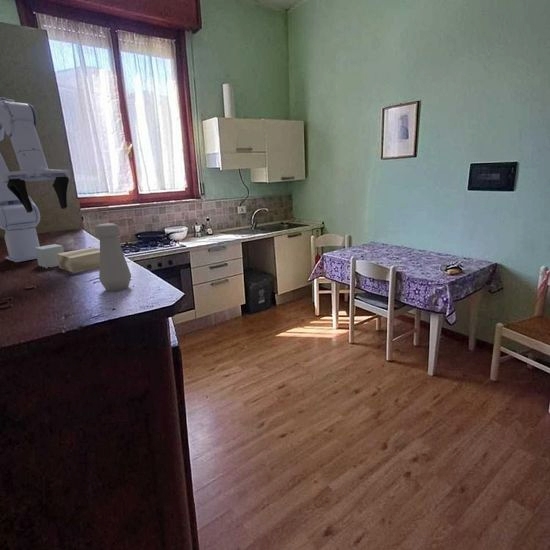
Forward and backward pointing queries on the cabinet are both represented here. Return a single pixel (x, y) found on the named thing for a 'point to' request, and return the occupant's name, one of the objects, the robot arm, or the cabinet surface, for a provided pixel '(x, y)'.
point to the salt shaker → (112, 259)
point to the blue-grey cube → (48, 255)
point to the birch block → (79, 259)
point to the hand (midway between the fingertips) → (47, 209)
